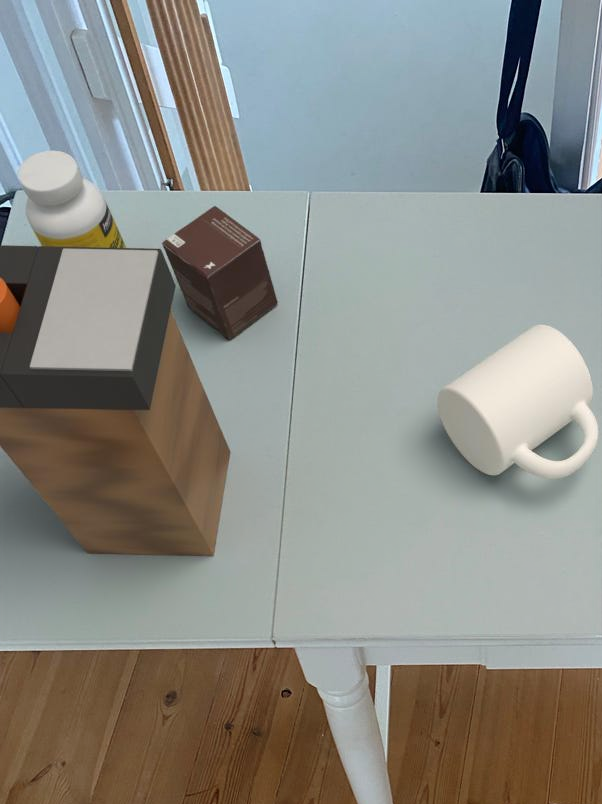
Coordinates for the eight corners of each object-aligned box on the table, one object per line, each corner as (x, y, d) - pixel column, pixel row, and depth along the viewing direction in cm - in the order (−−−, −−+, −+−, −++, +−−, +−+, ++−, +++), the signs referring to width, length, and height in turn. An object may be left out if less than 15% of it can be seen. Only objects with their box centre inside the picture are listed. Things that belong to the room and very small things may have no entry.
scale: (-49, 406, 53) (-80, 370, 50) (-9, 281, 57) (-35, 241, 54) (150, 410, 53) (131, 374, 50) (176, 285, 57) (160, 245, 54)
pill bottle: (132, 310, 79) (79, 200, 69) (60, 309, 79) (-3, 198, 69) (144, 257, 82) (95, 143, 71) (75, 256, 82) (15, 141, 71)
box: (280, 305, 80) (262, 239, 73) (229, 342, 78) (206, 278, 71) (236, 270, 81) (215, 203, 75) (185, 306, 80) (159, 240, 73)
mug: (437, 433, 74) (434, 369, 67) (524, 372, 77) (530, 304, 70) (533, 525, 71) (540, 468, 63) (621, 458, 73) (637, 396, 66)
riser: (87, 553, 69) (-33, 407, 53) (111, 448, 73) (6, 282, 57) (213, 556, 69) (133, 410, 53) (230, 451, 73) (160, 285, 57)
